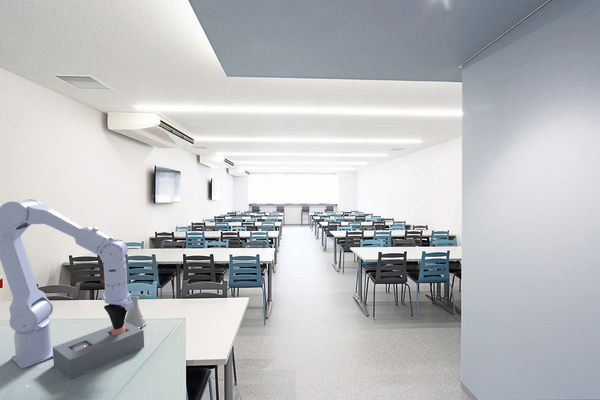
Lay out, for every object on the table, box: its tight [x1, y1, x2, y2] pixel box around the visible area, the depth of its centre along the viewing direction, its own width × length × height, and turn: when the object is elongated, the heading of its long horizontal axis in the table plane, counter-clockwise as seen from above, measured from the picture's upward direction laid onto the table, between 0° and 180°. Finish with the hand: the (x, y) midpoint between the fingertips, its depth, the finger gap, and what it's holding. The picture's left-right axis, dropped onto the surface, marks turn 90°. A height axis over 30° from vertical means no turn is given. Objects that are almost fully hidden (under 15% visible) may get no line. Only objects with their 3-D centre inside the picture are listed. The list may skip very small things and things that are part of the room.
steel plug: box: [72, 343, 89, 352], centre depth 89 cm, size 4×4×4 cm
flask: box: [124, 295, 146, 327], centre depth 110 cm, size 7×7×10 cm
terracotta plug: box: [111, 325, 126, 336], centre depth 97 cm, size 4×4×4 cm
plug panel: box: [52, 320, 145, 380], centre depth 93 cm, size 11×19×5 cm, turn 145°
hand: (118, 327), depth 97 cm, fingers closed, pressing on terracotta plug
